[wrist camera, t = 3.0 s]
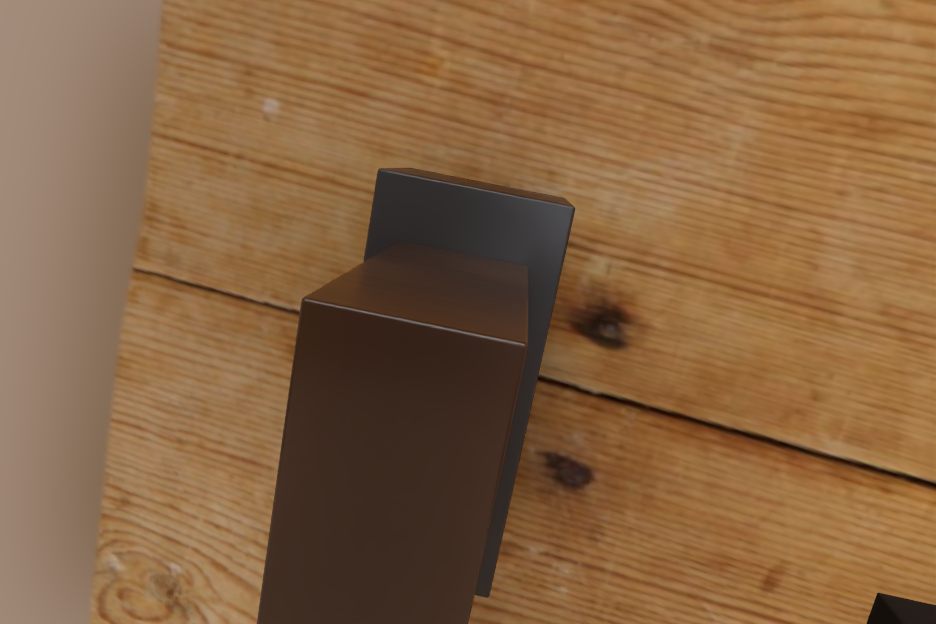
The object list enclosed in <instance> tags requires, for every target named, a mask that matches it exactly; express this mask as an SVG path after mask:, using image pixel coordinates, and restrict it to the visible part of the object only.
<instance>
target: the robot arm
mask: <svg viewBox="0 0 936 624" xmlns="http://www.w3.org/2000/svg"><path fill="white" fill-rule="evenodd" d="M867 624H936V605H932V604H927V603H922V602H918V601H913V600H909V599H904V598H900V597H895V596H891V595H886V594H881V593H877V596H876V599H875V602H874V604H873V607H872V610H871V613H870V616H869V618H868V621H867Z"/></svg>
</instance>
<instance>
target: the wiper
mask: <svg viewBox="0 0 936 624" xmlns="http://www.w3.org/2000/svg"><path fill="white" fill-rule="evenodd" d="M574 212H575V207H574V206H573V205H572V204H571V203H569V202H568V201H567V200H566V199H565V198H561V197H556V196H551V195H546V194H541V193H536V192H531V191H525V190H520V189H515V188H510V187H505V186H500V185H495V184H490V183H485V182H479V181H474V180H469V179H464V178H459V177H454V176H449V175H444V174H439V173H433V172H428V171H423V170H418V169H413V168H381V169H379V170H378V173H377V179H376V186H375V192H374V198H373V205H372V211H371V218H370V224H369V230H368V237H367V243H366V249H365V256H364V262H363V263H362V264H360V265H358V266H357V267H355V268H353V269H351V270H350V271H348V272H346V273H345V274H343V275H341V276H340V277H338V278H336V279H334V280H333V281H331V282H329V283H328V284H326V285H324V286H323V287H321V288H319V289H317V290H316V291H314V292H312V293H311V294H309V295H307V296H306V297H304V298H303V299H302V301H301V308H300V315H299V322H298V330H297V337H296V344H295V351H294V359H293V366H292V373H291V380H290V388H289V395H288V402H287V409H286V416H285V424H284V431H283V438H282V445H281V453H280V460H279V467H278V474H277V482H276V489H275V496H274V503H273V510H272V518H271V525H270V532H269V539H268V547H267V554H266V561H265V568H264V575H263V583H262V590H261V597H260V604H259V612H258V619H257V624H468V622H469V618H470V613H471V608H472V604H473V599H474V595H478V596H482V597H489V595H490V591H491V586H492V582H493V577H494V572H495V568H496V563H497V559H498V554H499V550H500V545H501V541H502V536H503V532H504V527H505V523H506V518H507V514H508V509H509V505H510V500H511V496H512V491H513V487H514V482H515V478H516V473H517V469H518V464H519V460H520V455H521V451H522V446H523V442H524V437H525V433H526V428H527V424H528V419H529V415H530V410H531V406H532V401H533V397H534V392H535V388H536V383H537V379H538V374H539V370H540V365H541V361H542V356H543V352H544V347H545V343H546V338H547V334H548V329H549V325H550V320H551V316H552V311H553V307H554V302H555V298H556V293H557V289H558V284H559V280H560V275H561V271H562V266H563V262H564V257H565V253H566V248H567V244H568V239H569V235H570V230H571V226H572V221H573V217H574Z"/></svg>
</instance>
